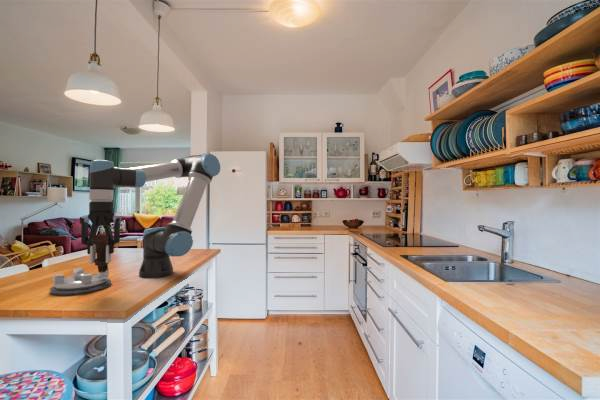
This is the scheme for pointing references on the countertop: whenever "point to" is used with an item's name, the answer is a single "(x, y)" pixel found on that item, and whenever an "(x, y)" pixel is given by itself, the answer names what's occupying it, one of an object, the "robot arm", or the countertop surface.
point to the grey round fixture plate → (79, 280)
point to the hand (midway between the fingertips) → (100, 262)
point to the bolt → (101, 251)
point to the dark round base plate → (81, 291)
